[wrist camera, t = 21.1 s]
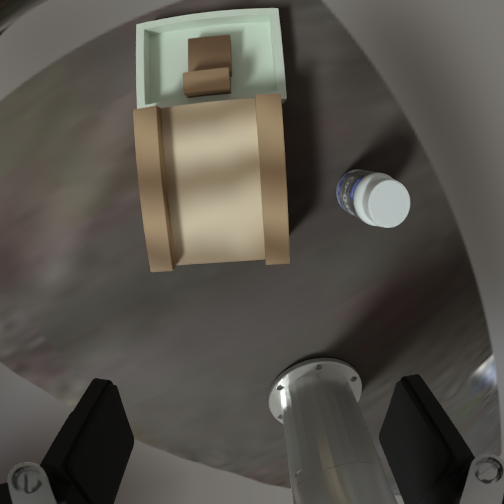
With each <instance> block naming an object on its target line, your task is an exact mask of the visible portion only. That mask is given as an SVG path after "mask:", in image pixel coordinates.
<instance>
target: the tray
mask: <svg viewBox="0 0 504 504" xmlns="http://www.w3.org/2000/svg"><path fill="white" fill-rule="evenodd" d="M220 35H230V39H231V57H232V77H230V78H231V90H232V94H221V95H210V96H201V97H193V98H187V97H186V96H185V95H184V92H183V73H185V72H188V39H190V38H198V37H208V36H220ZM136 87H137V109H139V108H145V107H151V106H158V107H160V108H165V107H172V106H179V105H187V104H195V103H203V102H213V101H223V100H235V99H250V98H255V95H260V94H281V104H282V103H284V102H285V101H286V99H287V94H286V82H285V70H284V59H283V49H282V39H281V29H280V20H279V11H278V8H255V9H236V10H224V11H213V12H205V13H197V14H189V15H183V16H177V17H171V18H165V19H160V20H155V21H150V22H146V23H141V24H137V28H136Z"/></svg>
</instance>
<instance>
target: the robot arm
mask: <svg viewBox="0 0 504 504" xmlns="http://www.w3.org/2000/svg"><path fill="white" fill-rule="evenodd" d="M361 393H362V382H361V379H360V377H359V374H358V373H357V371H356V370H355V369H354V368H353V367H352V366H351V365H350V364H348V363H346V362H344V361H342V360H338V359H334V358H315V359H311V360H306V361H303V362H301V363H298V364H296V365H294V366H292V367H290V368H288V369H287V370H286V371H284V372H283V373H282V374H281V375H280V376H279V377H278V378H277V379H276V380H275V381H274V383H273V385H272V386H271V389H270V392H269V398H268V400H269V408H270V411H271V413H272V414H273V416H274V417H275V418H276V419H277V420H278V421H279V422H281V423H283V424H284V432H285V440H286V448H287V456H288V464H289V472H290V480H291V488H292V494H293V502H294V504H398V503H397V501H396V499H395V496H394V494H393V491H392V489H391V487H390V484H389V481H388V479H387V476H386V474H385V471H384V468H383V466H382V463H381V460H380V458H379V455H378V453H377V450H376V448H375V445H374V443H373V440H372V438H371V435H370V432H369V430H368V427H367V425H366V422H365V420H364V417H363V415H362V413H361V410H360V408H359V405H358V401H359V399H360V396H361ZM379 440H380V443H381V446H382V448H383V451H384V453H385V456H386V458H387V461H388V463H389V466H390V468H391V470H392V473H393V476H394V478H395V481H396V483H397V486H398V488H399V491H400V493H401V496H402V498H403V501H404V504H504V461H503V460H502V459H501V458H499V457H498V456H496V455H493V454H483V455H480V456H478V457H476V458H475V457H474V456H473V454H472V452H471V450H470V449H469V447H468V446H467V444H466V443H465V441H464V440H463V438H462V436H461V435H460V433H459V432H458V430H457V429H456V427H455V426H454V424H453V423H452V421H451V420H450V418H449V417H448V415H447V414H446V412H445V411H444V409H443V408H442V406H441V405H440V404H439V402H438V401H437V399H436V398H435V396H434V395H433V393H432V392H431V391H430V389H429V388H428V386H427V385H426V383H425V382H424V381H423V379H422V378H421V376H420V375H418V374H415V375H410V376H404V377H402V378H401V380H400V381H398V382H397V383H396V386H395V389H394V393H393V396H392V399H391V402H390V405H389V408H388V411H387V414H386V417H385V420H384V422H383V425H382V428H381V431H380V434H379ZM133 445H134V436H133V433H132V431H131V428H130V425H129V422H128V419H127V416H126V413H125V410H124V407H123V404H122V401H121V398H120V395H119V391H118V388H117V386H116V385H113V383H112V382H111V381H110V380H105V379H98V378H95V379H93V380H92V382H91V383H90V385H89V387H88V388H87V390H86V391H85V393H84V395H83V396H82V398H81V399H80V401H79V403H78V404H77V406H76V408H75V409H74V411H73V412H72V413H71V414H70V415H69V417H68V418H67V420H66V421H65V423H64V425H63V426H62V428H61V430H60V432H59V433H58V435H57V436H56V438H55V440H54V442H53V443H52V445H51V447H50V448H49V450H48V452H47V454H46V455H45V457H44V459H43V461H42V462H41V464H40V466H39V465H37V464H35V463H30V462H26V463H21V464H18V465H16V466H15V467H14V468H12V470H11V471H10V473H9V475H8V482H7V483H4V484H0V504H114V501H115V498H116V495H117V492H118V489H119V486H120V483H121V480H122V477H123V474H124V471H125V469H126V466H127V463H128V460H129V457H130V454H131V451H132V449H133Z"/></svg>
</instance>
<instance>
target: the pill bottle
mask: <svg viewBox="0 0 504 504" xmlns="http://www.w3.org/2000/svg"><path fill="white" fill-rule="evenodd" d="M337 199H338V202H339V204H340V205H341V207H342V208H343V209H344V210H346V211H347V212H349V213H350V214H352V215H353V216H355V217H357V218H359V219H360V220H362V221H363V222H365V223H367V224H369V225H373V226H381V227H385V228H391V227H395V226H397V225H399V224H400V223H401V222H403V221H404V219H405V218H406V216H407V215H408V212H409V209H410V197H409V193H408V191H407V189H406V188H405V187H404V186H403V185H402V184H401V183H400V182H398V181H396V180H394V179H393V178H392V177H390V176H389V175H386V174H384V173H378V172H372V171H365V170H352V171H349V172H347V173H346V174H344V175H343V176H342V177H341V179H340V180H339V182H338V185H337Z"/></svg>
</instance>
